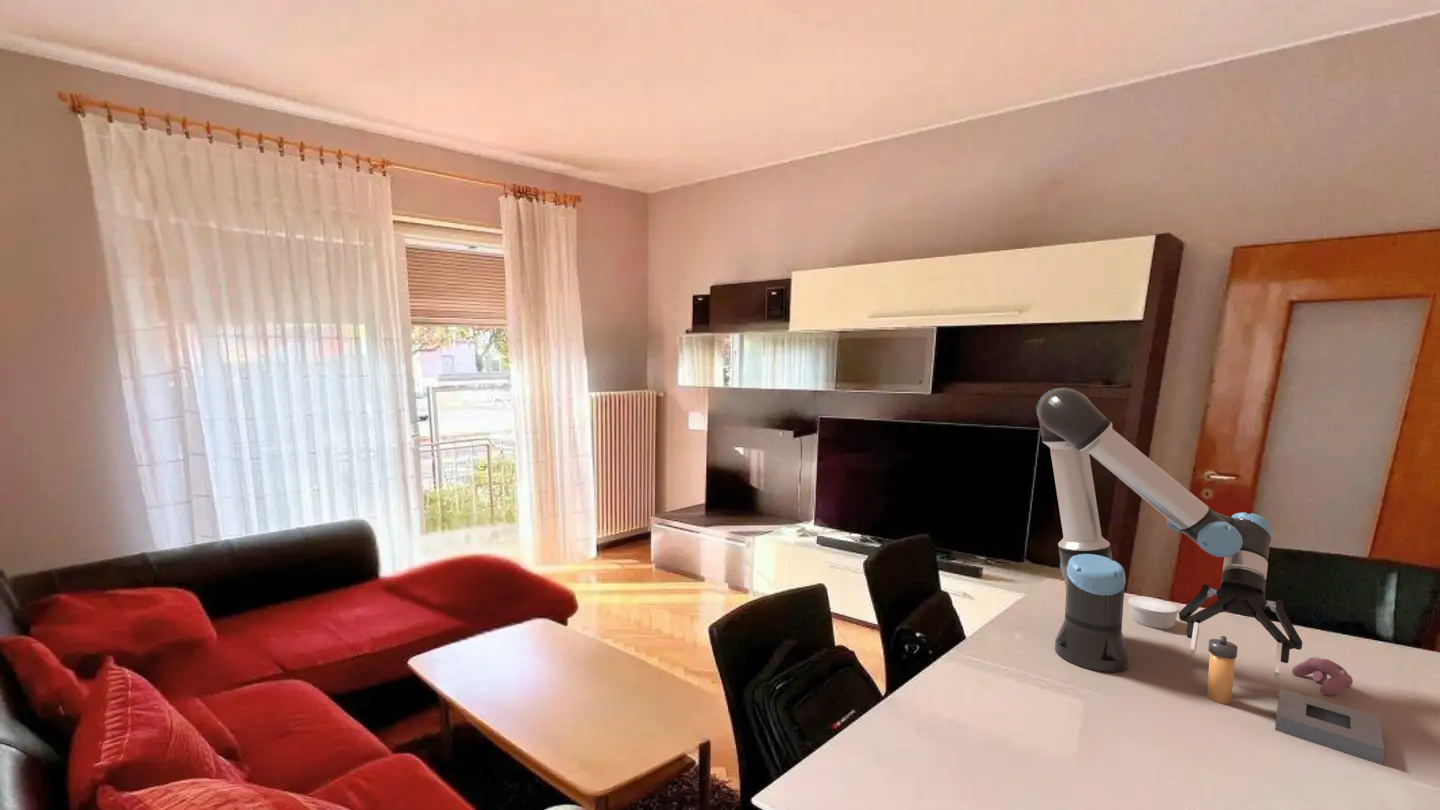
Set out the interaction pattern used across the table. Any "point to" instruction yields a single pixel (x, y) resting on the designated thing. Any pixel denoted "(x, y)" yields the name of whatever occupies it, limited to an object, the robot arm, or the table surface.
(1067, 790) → the table surface
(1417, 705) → the table surface
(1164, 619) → the ramekin
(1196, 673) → the table surface
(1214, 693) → the orange lidded canister
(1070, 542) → the robot arm
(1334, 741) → the grey square socket block
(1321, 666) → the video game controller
